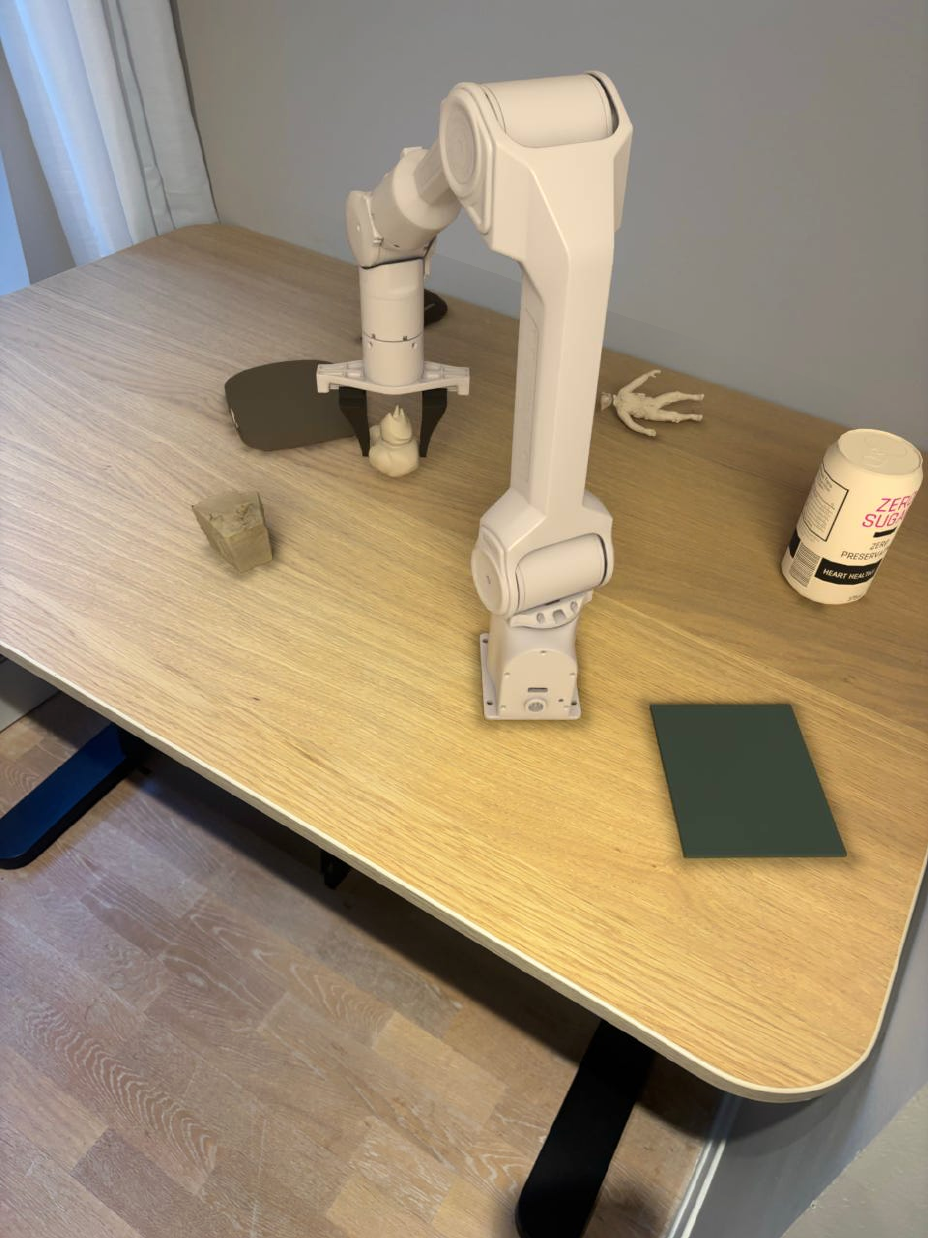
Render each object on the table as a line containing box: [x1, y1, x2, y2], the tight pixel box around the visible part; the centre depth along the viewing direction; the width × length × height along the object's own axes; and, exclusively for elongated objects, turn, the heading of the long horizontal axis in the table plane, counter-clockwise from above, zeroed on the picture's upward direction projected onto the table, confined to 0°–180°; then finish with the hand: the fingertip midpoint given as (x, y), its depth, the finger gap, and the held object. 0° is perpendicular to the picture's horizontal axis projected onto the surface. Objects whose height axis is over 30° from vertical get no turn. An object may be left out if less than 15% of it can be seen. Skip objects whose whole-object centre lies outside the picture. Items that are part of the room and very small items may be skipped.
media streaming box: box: [223, 359, 356, 451], centre depth 101 cm, size 15×15×3 cm
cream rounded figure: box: [368, 404, 420, 478], centre depth 88 cm, size 5×7×8 cm
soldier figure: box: [599, 369, 705, 437], centre depth 103 cm, size 8×5×12 cm
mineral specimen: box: [191, 489, 273, 574], centre depth 81 cm, size 7×9×8 cm
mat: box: [649, 704, 848, 859], centre depth 68 cm, size 14×12×1 cm
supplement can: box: [780, 428, 924, 605], centre depth 80 cm, size 8×8×15 cm
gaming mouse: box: [360, 288, 448, 341], centre depth 118 cm, size 6×15×4 cm, turn 136°
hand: (395, 451), depth 90 cm, fingers closed on cream rounded figure, 5 cm apart
